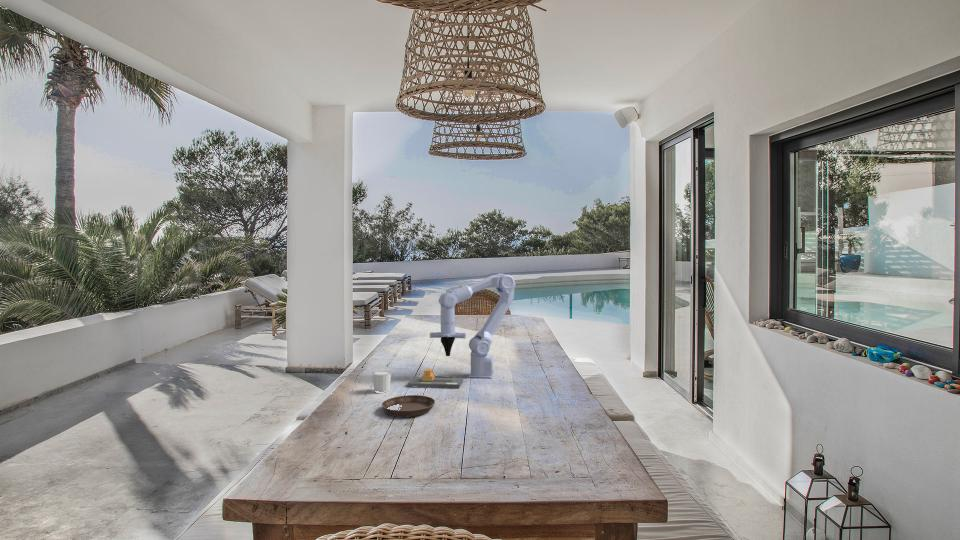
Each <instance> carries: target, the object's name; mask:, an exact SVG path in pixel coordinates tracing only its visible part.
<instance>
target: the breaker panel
mask: <svg viewBox="0 0 960 540" xmlns="http://www.w3.org/2000/svg"><path fill="white" fill-rule="evenodd" d="M463 383H464V378H463V377H460V378H459V377H453V378H435V379H434V380H433V381H432V382H431V381H422V376H413V378H411V379H410V380H409V382H407V387H408V386H417V387H416V388H421V387H431V388H432V389H457V390H459V389H460V388H461V386H462V385H463ZM431 388H430V389H431Z"/></svg>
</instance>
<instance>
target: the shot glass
mask: <svg viewBox="0 0 960 540" xmlns="http://www.w3.org/2000/svg"><path fill="white" fill-rule="evenodd" d="M391 378H392V372H391V371H386V370H383V371H382V370H381V371H375V372H372V383H373V389H374V390H375V391H379V392H384V391H389V390H390V389H391V388H390V387H391ZM375 391H374V392H375ZM389 392H390V391H389Z"/></svg>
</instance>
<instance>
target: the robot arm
mask: <svg viewBox="0 0 960 540" xmlns="http://www.w3.org/2000/svg"><path fill="white" fill-rule="evenodd" d="M516 285H517V284H516V282H515V278H514V277H513V276H512V275H511V274H504V273H500V272H499V273H496V274H493V275H492V274H491V275H490V276H488V277H485V278H484V279H482V280H480V281H477V282H475V283H474V284H473V283H472V285H468V284H460V285H459V287H457V288H455V289H449V292H443V293H441V295H440V296H439V298H438V303H439V305H440V331H438V332H430V333H429V338H430V339H433V338H435V339H440V342H441V345H442V347H443V349H444V353H445V357H450V356H451V351H452V348H453V345H454V343H455V340H456V339H466V338H467V334H466V332H456V317H455V315H456V314H455V312H456V311H455V307H456V305H457V304H459V303H462V302H464V301H466V300H468V299H471V298H472V296H473V294H475V293H477V292H480V291H483V290H485V289H487V288H490V287H491V288H496V290H497V291H498V295H499V299H498V301H497V302H496V304H495V306H494V308H493V309H492V310H491V312H490V314H489V315H488V318H487V320H485V323H483V326H482V328H481V329H480V330H479V331H478V332H476V334H475V335H474V336H473V337H472V338H471V339H470V340H469V341H468V342H469V343H468V348H469V349H470V351H471V352H470V374H469V375H468V378H475V379H476V378H478V379H479V378H480V379H491V378H492V377H493V375H494V374H495V371H494V369H495V368H494V355H493V354H489V352H490V349H491V344H492V343H493V336H494V334H495V333H496V330H497V329H498V327H499V325H500V324H501V322H502V320H503V319H504V316H505V315H506V313H507V312H508V310H509V308H510V307H511V305H512V304H513V302H514V299H515V288H516Z"/></svg>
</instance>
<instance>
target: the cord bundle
mask: <svg viewBox="0 0 960 540" xmlns="http://www.w3.org/2000/svg"><path fill="white" fill-rule="evenodd" d="M435 378H454V377H453V376H437V375H435Z"/></svg>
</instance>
